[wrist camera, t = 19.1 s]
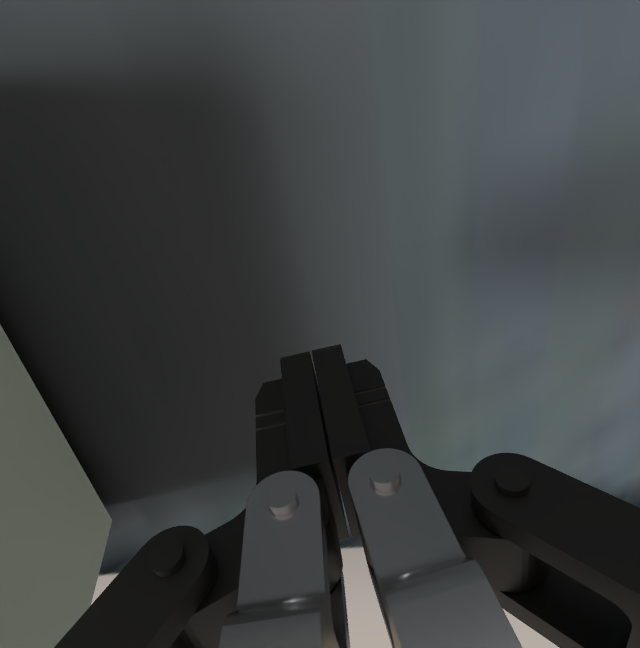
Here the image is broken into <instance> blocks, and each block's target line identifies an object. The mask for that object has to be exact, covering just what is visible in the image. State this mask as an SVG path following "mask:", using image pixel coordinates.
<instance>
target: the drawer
mask: <svg viewBox="0 0 640 648" xmlns="http://www.w3.org/2000/svg"><path fill="white" fill-rule="evenodd" d="M111 523H112V519H111V517H110V516H109V514H108V512H107V510H106V509H105V507H104V505H103V503H102V502H101V500H100V498H99V496H98V495H97V493H96V491H95V489H94V488H93V486H92V484H91V482H90V481H89V479H88V477H87V475H86V474H85V472H84V470H83V468H82V467H81V465H80V463H79V461H78V460H77V458H76V456H75V454H74V453H73V451H72V449H71V447H70V446H69V444H68V442H67V440H66V439H65V437H64V435H63V433H62V432H61V430H60V428H59V426H58V425H57V423H56V421H55V419H54V418H53V416H52V414H51V412H50V411H49V409H48V407H47V405H46V404H45V402H44V400H43V398H42V397H41V395H40V393H39V391H38V390H37V388H36V386H35V384H34V383H33V381H32V379H31V377H30V376H29V374H28V372H27V370H26V369H25V367H24V365H23V363H22V362H21V360H20V358H19V356H18V355H17V353H16V351H15V349H14V348H13V346H12V344H11V342H10V341H9V339H8V337H7V335H6V334H5V332H4V330H3V328H2V327H1V325H0V648H54V647H55V646H56V645H57V643H58V642H59V641H60V640H61V639H62V638H63V637H64V635H65V634H66V633H67V632H68V631H69V630H70V629H71V628H72V626H73V625H74V624H75V623H76V622H77V621H78V620H79V618H80V617H81V616H82V615H83V614H84V613H85V612H86V610H87V609H88V608H89V607H90V606H91V602H92V598H93V594H94V590H95V586H96V582H97V578H98V574H99V570H100V567H101V563H102V559H103V555H104V551H105V547H106V543H107V539H108V535H109V531H110V527H111Z"/></svg>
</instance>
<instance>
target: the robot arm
mask: <svg viewBox="0 0 640 648" xmlns="http://www.w3.org/2000/svg"><path fill="white" fill-rule="evenodd" d="M312 355H313V361H314V366H315V371H316V376H317V380H316V376H315V371H314V367H313V363H312V359H311V356H310V352H305V353H300V354H296V355H292V356H287V357H283V358H281V359H280V361H281V372H282V379H279V380H275V381H270V382H266V383H263V385H262V387H261V389H260V391H259V393H258V395H257V397H256V399H255V403H256V431H257V432H256V461H257V485H256V487H255V488H254V489H253V490H252V492H251V494H250V495H249V498H248V500H247V505H246V508H245V509H244V510H243V511H242V512H241V513H240V514H239V515H238V516H236V517H235V518H234V519H232V520H231V521H229V522H227V523H226V524H224V525H222V526H220V527H218V528H216V529H215V530H213V531H211V532H209V533H207V534H205V535H204V534H203V533H202V532H201V531H200V530H198V529H197V528H194V527H191V526H176V527H172V528H169V529H166V530H164V531H162V532H160V533H158V534H157V535H155V536H154V537H153V538H151V539H150V540H149V541H148V542H147V543H146V544H145V545H144V546H143V547H142V548H141V549H140V550H139V551H138V553H137V554H136V555H135V556H134V557H133V558H132V559H131V561H130V562H129V563H128V564H127V565H126V566H125V567H124V569H123V570H122V571H121V572H120V573H119V574H118V575H117V577H116V578H115V579H114V580H113V581H112V582H111V583H110V584H109V586H108V587H107V588H106V589H105V590H104V591H103V592H102V594H101V595H100V596H99V597H98V598H97V599H96V600H95V601H94V603H93V604H92V605H91V606H90V607H89V608H88V609H87V610H86V612H85V613H84V614H83V615H82V616H81V617H80V618H79V620H78V621H77V622H76V623H75V624H74V625H73V626H72V628H71V629H70V630H69V631H68V632H67V633H66V634H65V635H64V637H63V638H62V639H61V640H60V641H59V642H58V643H57V645H56V646H55V647H54V648H350V640H349V629H348V619H347V608H346V597H345V586H344V577H343V572H342V567H343V563H342V556H341V550H340V544H339V539H341V538H345V537H349V535H348V530H347V525H346V520H345V515H344V509H343V504H342V499H343V503H344V507H345V511H346V515H347V518H348V522H349V526H350V530H351V534H352V536H353V535H357V534H360V535H361V539H362V544H363V548H364V552H365V555H366V560H367V564H368V568H369V572H370V575H371V579H372V582H373V585H374V589H375V592H376V596H377V599H378V602H379V605H380V609H381V612H382V615H383V619H384V622H385V625H386V629H387V632H388V635H389V639H390V642H391V645H392V648H522V646H521V644H520V642H519V640H518V638H517V636H516V634H515V633H514V630H513V628H512V627H511V625H510V623H509V621H508V619H507V617H506V615H505V613H504V611H503V609H505V610H506V611H507V612H509V613H510V614H512V615H513V616H515V617H516V618H518V619H519V620H520V621H522V622H523V623H525V624H526V625H528V626H529V627H531V628H532V629H534V630H535V631H537V632H538V633H539V634H541V635H542V636H544V637H545V638H547V639H548V640H550V641H551V642H553V643H554V644H555V645H557V646H558V647H560V648H640V508H638V507H636V506H634V505H632V504H630V503H628V502H625V501H623V500H621V499H619V498H617V497H614V496H612V495H610V494H608V493H606V492H603V491H601V490H599V489H597V488H595V487H593V486H590V485H588V484H586V483H584V482H582V481H579V480H577V479H575V478H573V477H571V476H569V475H566V474H564V473H562V472H560V471H558V470H555V469H553V468H551V467H549V466H547V465H545V464H542V463H540V462H538V461H536V460H534V459H531V458H529V457H526V456H524V455H520V454H514V453H499V454H494V455H490V456H488V457H486V458H484V459H482V460H481V461H480V462H479V463H478V464H477V465H476V466H475V467H474V469H473V470H472V472H460V471H445V470H440V469H435V468H433V467H430V466H428V465H426V464H424V463H422V462H421V461H419V460H418V459H417V458H416V457H415V456H414V455H413V454H412V453H411V451H410V449H409V447H408V445H407V443H406V440H405V437H404V435H403V432H402V429H401V427H400V424H399V421H398V419H397V416H396V413H395V411H394V408H393V405H392V403H391V401H390V397H389V395H388V392H387V389H386V388H385V384H384V381H383V379H382V376H381V373H380V371H379V370H378V369H377V368H376V367H375V366H374V365H372V364H371V363H370V362H369V361H367V360H366V359H365V360H361V361H357V362H352V363H348V364H346V362H345V359H344V355H343V352H342V348H341V345H340V344H339V345H335V346H330V347H326V348H322V349H317V350H313V351H312ZM317 381H318V384H317ZM318 387H319V388H318ZM338 483H339V484H338ZM339 487H340V489H339ZM340 491H341V494H340ZM341 495H342V499H341ZM502 608H503V609H502Z"/></svg>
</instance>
